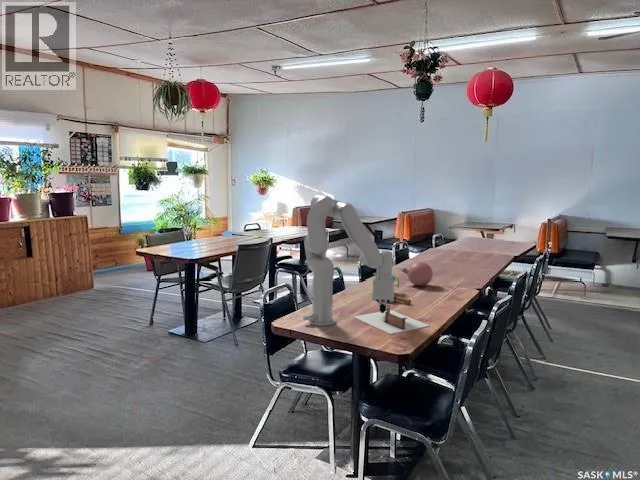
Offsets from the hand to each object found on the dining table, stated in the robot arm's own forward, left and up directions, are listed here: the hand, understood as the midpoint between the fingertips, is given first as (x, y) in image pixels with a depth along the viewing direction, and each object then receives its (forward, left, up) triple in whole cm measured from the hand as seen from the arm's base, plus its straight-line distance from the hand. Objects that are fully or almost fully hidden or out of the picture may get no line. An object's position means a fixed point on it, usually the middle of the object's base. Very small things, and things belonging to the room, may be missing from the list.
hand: (382, 312), depth 233 cm
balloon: (+59, +42, -3) cm, 73 cm away
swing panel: (0, -3, -2) cm, 4 cm away
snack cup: (+31, +37, -3) cm, 49 cm away
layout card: (-2, -8, -2) cm, 9 cm away
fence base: (-4, -15, -2) cm, 15 cm away
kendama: (+22, +18, -3) cm, 29 cm away
